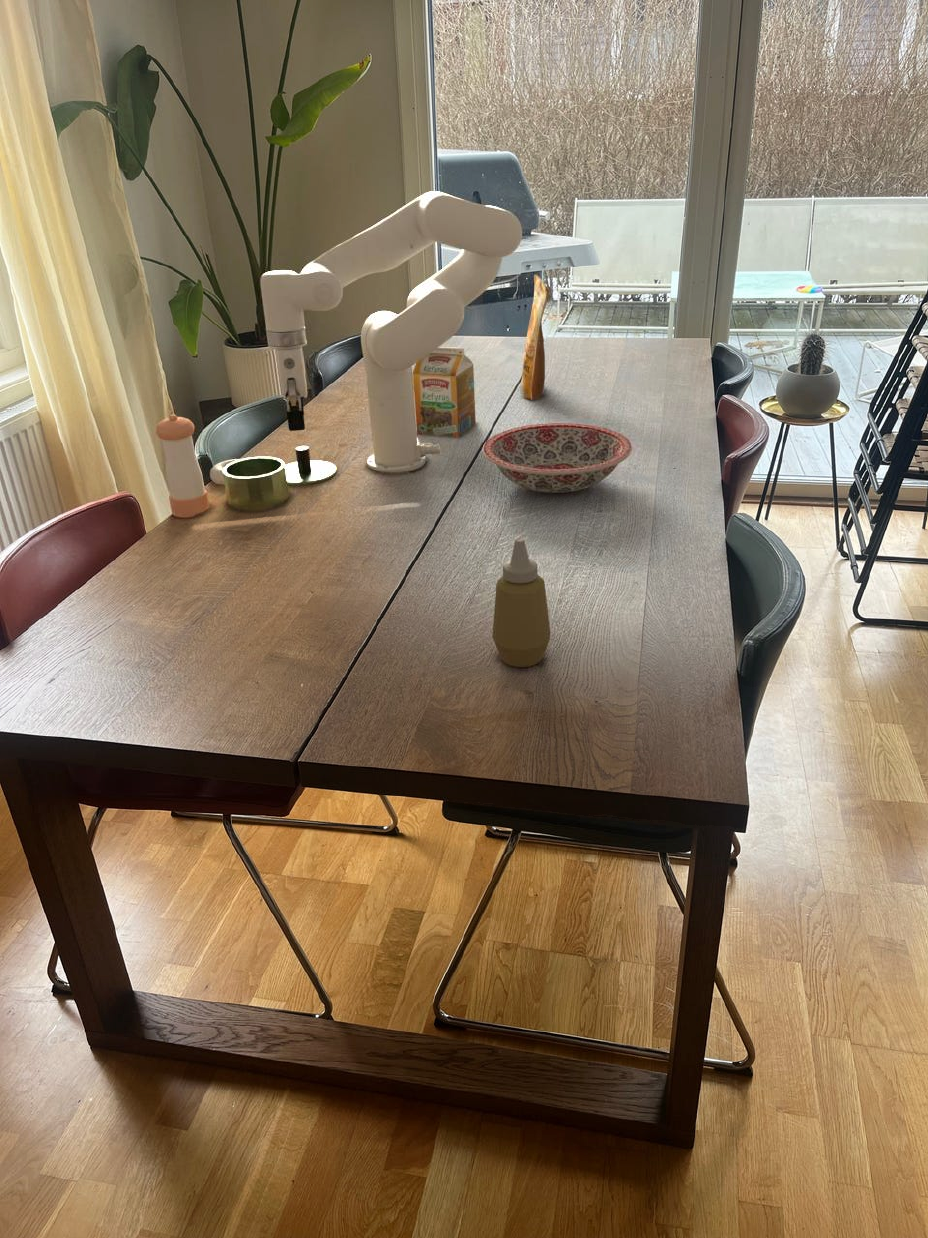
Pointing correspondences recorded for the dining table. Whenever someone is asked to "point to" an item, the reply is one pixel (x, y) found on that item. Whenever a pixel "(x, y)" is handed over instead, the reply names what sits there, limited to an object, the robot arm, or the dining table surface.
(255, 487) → the pot
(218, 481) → the donut
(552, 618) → the dining table surface
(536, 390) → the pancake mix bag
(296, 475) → the lid
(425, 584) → the dining table surface
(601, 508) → the dining table surface
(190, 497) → the pepper shaker
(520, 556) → the squeeze bottle
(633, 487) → the dining table surface
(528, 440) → the ceramic bowl
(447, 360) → the milk carton
